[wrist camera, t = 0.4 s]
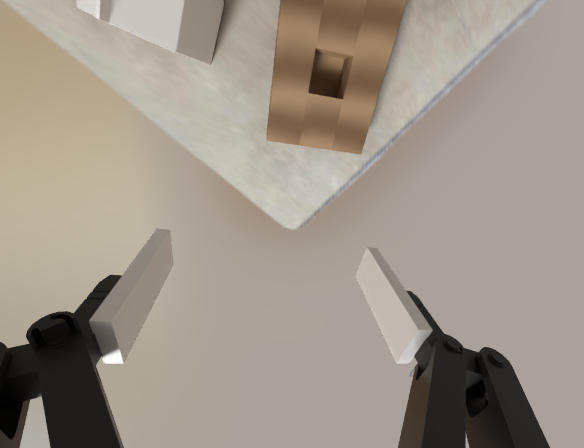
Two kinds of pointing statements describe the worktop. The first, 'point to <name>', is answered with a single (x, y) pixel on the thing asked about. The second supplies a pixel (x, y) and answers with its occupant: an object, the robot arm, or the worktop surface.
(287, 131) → the bore block
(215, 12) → the milk carton
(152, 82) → the worktop surface
